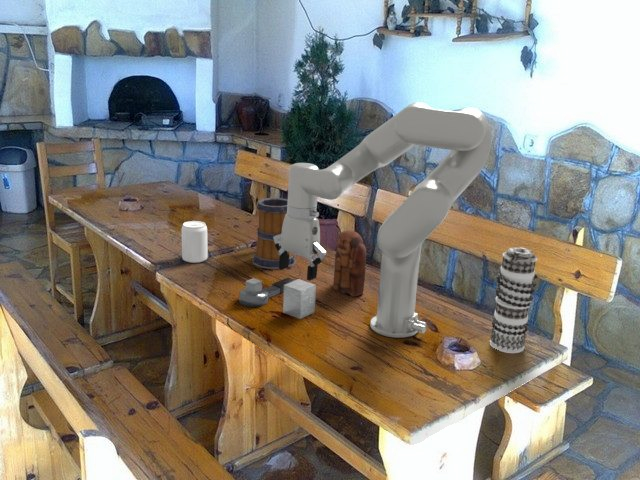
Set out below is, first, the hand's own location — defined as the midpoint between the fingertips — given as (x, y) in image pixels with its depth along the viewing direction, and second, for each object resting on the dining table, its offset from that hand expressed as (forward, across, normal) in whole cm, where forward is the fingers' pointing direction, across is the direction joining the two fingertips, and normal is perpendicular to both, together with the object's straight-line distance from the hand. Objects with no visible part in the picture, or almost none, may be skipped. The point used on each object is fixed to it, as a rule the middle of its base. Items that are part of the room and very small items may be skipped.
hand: (297, 273), depth 172 cm
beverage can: (+13, +50, -8) cm, 52 cm away
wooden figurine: (+11, -1, -22) cm, 25 cm away
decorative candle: (+9, -51, -21) cm, 56 cm away
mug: (+12, +33, -26) cm, 44 cm away
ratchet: (+11, +13, -4) cm, 18 cm away
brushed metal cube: (+11, -1, 0) cm, 11 cm away
